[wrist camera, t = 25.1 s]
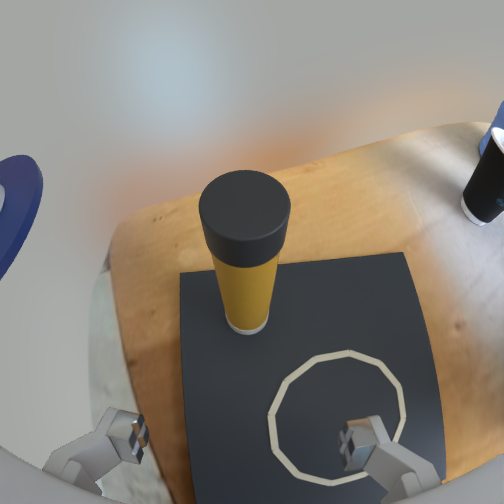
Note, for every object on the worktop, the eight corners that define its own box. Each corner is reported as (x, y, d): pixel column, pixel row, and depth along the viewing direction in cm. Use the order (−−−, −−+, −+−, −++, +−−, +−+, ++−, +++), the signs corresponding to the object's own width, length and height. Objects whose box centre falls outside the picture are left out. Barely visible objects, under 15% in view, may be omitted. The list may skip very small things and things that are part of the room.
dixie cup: (486, 247, 25) (540, 190, 15) (443, 203, 28) (487, 136, 18) (498, 216, 27) (541, 164, 18) (460, 178, 30) (496, 120, 21)
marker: (227, 337, 20) (198, 244, 9) (224, 297, 22) (198, 173, 10) (271, 333, 20) (299, 236, 9) (265, 293, 22) (282, 166, 11)
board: (203, 534, 12) (202, 537, 12) (181, 275, 23) (179, 272, 23) (442, 477, 14) (447, 478, 13) (400, 254, 24) (403, 251, 24)
